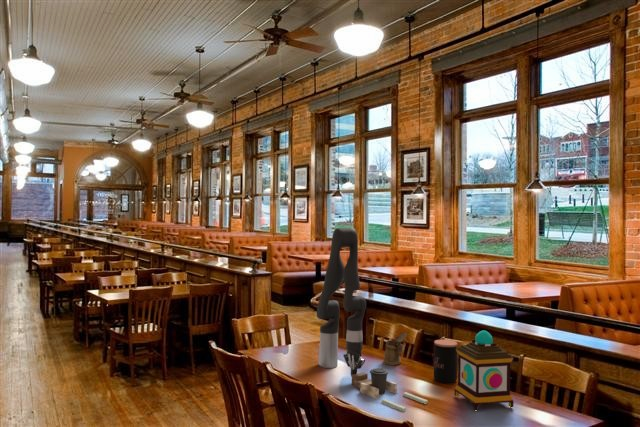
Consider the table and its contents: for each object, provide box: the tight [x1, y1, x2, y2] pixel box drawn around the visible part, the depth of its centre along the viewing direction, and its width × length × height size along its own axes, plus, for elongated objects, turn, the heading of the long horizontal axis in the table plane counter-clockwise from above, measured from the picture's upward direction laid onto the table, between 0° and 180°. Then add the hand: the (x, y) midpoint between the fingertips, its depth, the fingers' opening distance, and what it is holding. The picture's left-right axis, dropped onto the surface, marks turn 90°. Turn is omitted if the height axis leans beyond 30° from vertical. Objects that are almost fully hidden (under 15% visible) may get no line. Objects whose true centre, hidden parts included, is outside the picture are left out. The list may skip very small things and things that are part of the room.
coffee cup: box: [369, 367, 389, 396], centre depth 219 cm, size 8×8×10 cm
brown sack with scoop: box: [383, 331, 407, 366], centre depth 262 cm, size 9×14×18 cm, turn 35°
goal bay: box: [381, 391, 429, 413], centre depth 208 cm, size 12×15×1 cm
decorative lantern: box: [454, 330, 515, 411], centre depth 210 cm, size 20×20×30 cm
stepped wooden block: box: [359, 379, 398, 400], centre depth 219 cm, size 10×12×4 cm
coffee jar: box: [433, 339, 458, 385], centre depth 237 cm, size 11×11×18 cm
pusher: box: [351, 371, 372, 389], centre depth 226 cm, size 9×7×5 cm
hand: (353, 377), depth 232 cm, fingers closed
